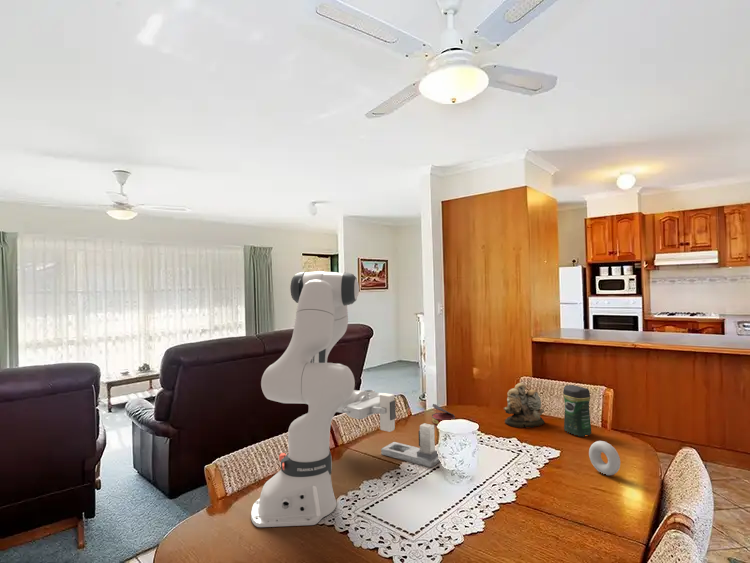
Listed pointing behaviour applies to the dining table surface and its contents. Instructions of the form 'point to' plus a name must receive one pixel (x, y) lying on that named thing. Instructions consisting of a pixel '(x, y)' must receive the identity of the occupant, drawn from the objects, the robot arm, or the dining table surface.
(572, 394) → the coffee jar
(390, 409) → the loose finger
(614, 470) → the donut
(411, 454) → the steel rail
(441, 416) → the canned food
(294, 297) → the robot arm
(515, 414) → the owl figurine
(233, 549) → the dining table surface
